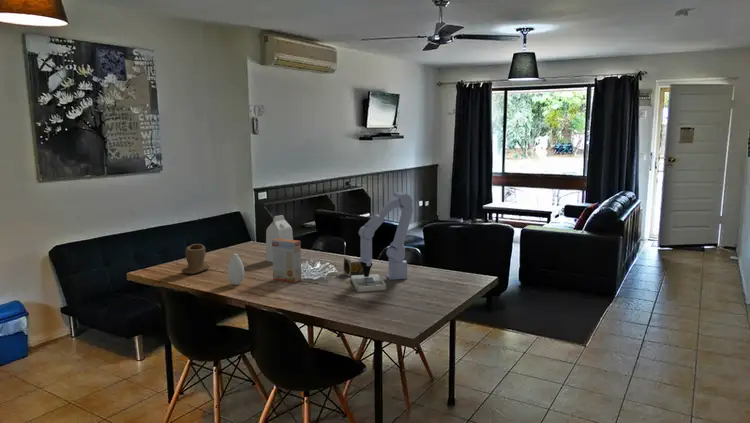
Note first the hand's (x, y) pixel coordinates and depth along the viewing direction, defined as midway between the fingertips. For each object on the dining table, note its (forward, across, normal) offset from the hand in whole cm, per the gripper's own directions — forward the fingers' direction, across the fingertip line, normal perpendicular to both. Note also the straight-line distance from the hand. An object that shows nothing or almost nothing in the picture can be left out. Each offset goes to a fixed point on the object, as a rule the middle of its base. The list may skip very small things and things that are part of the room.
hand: (366, 276), depth 272 cm
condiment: (-2, -14, -8) cm, 16 cm away
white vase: (+3, -7, -64) cm, 64 cm away
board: (+3, 0, 0) cm, 3 cm away
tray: (+3, +11, 0) cm, 11 cm away
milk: (+3, -52, -42) cm, 67 cm away
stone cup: (+3, -35, -86) cm, 93 cm away
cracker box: (+3, -10, -39) cm, 40 cm away
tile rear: (+1, +8, 0) cm, 8 cm away
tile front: (+2, +12, 0) cm, 12 cm away
